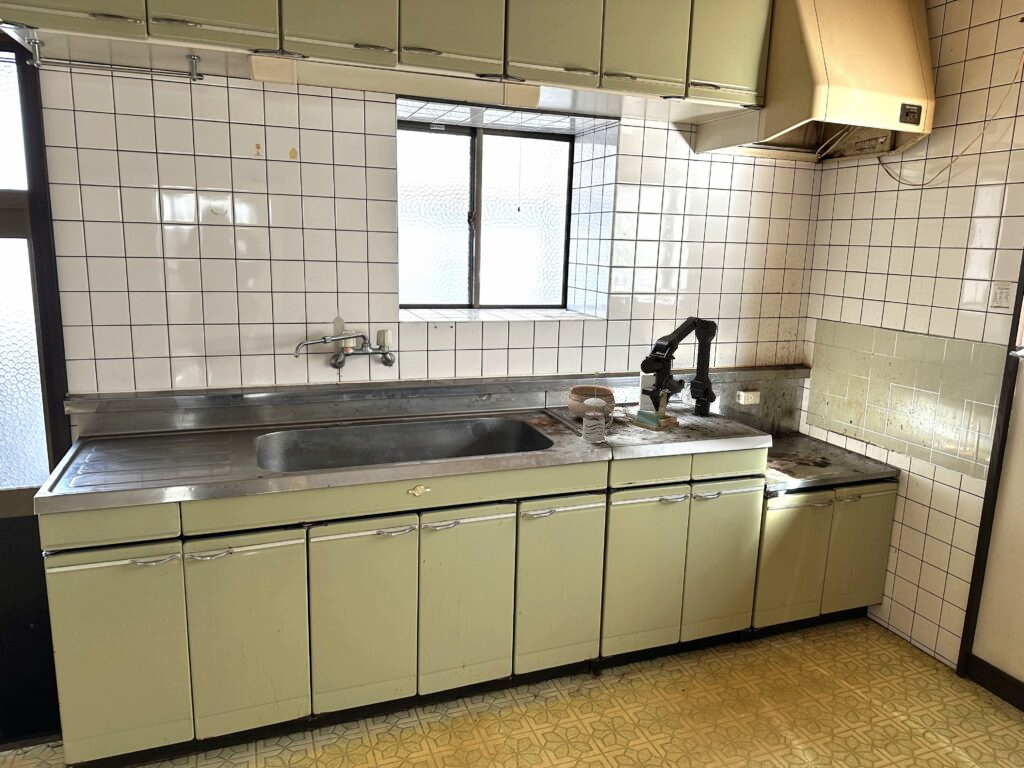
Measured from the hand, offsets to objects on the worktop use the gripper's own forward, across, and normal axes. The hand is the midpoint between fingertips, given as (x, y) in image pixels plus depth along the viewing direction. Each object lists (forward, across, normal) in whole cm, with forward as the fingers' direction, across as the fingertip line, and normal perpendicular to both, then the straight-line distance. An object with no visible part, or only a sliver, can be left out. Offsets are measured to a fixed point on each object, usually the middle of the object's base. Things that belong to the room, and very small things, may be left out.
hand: (660, 410), depth 279 cm
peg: (+3, 0, 0) cm, 3 cm away
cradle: (+5, -2, 0) cm, 6 cm away
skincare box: (+6, +17, +18) cm, 25 cm away
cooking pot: (+6, -17, +21) cm, 28 cm away
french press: (+6, -37, +1) cm, 38 cm away
